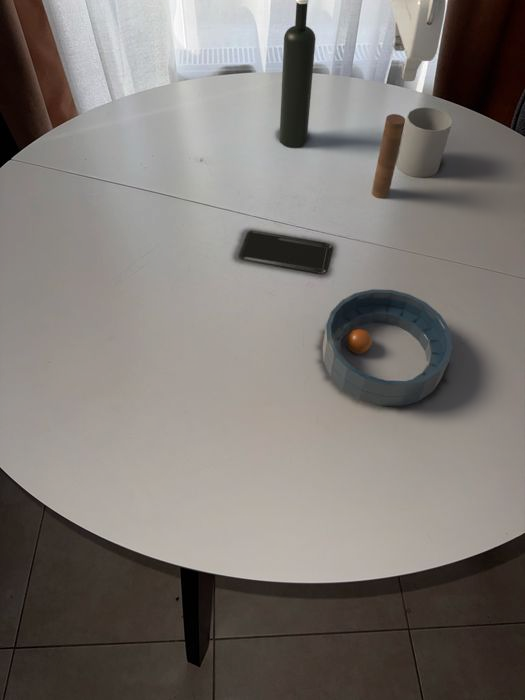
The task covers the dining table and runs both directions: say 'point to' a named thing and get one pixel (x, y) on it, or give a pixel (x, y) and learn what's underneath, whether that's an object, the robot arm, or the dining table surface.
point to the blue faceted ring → (399, 313)
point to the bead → (359, 341)
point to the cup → (423, 142)
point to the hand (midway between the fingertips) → (402, 63)
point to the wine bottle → (297, 79)
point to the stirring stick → (388, 155)
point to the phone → (285, 252)
